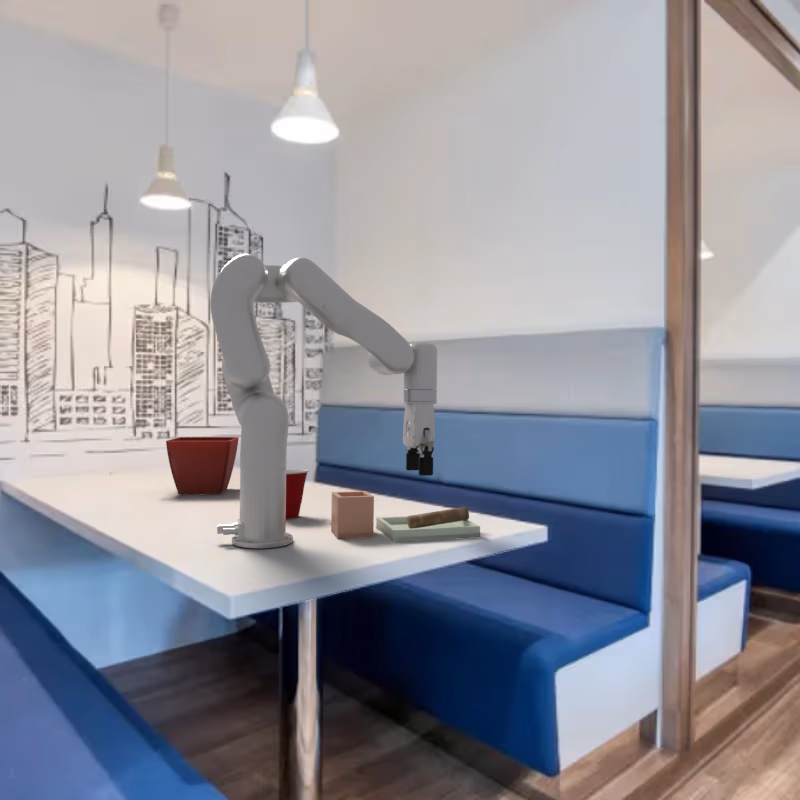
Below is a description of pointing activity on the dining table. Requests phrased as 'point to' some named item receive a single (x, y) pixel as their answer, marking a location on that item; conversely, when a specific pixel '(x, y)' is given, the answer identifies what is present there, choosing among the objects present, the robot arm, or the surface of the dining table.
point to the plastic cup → (294, 491)
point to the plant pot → (202, 463)
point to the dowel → (437, 517)
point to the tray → (425, 530)
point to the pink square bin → (352, 514)
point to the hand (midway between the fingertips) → (419, 472)
